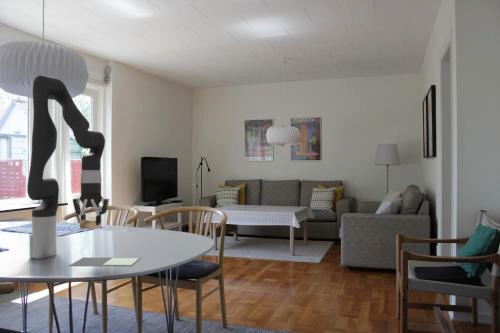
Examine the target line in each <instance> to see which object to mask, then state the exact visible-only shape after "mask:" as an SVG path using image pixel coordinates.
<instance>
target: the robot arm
mask: <svg viewBox="0 0 500 333" xmlns="http://www.w3.org/2000/svg"><path fill="white" fill-rule="evenodd" d="M49 100H54V101H56V102H57V103H58V104H59V105H60V106H61V107H62V109H61V110H62V111H61V112H62V118H63V120H64V122H65V123H66V125H67V126H68V127H69V129H70V130H71V131H72V135H73V136H74V139H75V142H76V143H77V145H78V146H79V147H80V148H83V149H86V150H87V149H89V152H88V154H85V155H83V156H82V158H81V174H80V197H78V198H72V203H73V207H74V211H75V214H77V215H79V217H80V221H81V220H84V219H87V215H86V214H87V210H88V209H89V208H93V210H94V212H95V214H96V216H95V218H96V225H100V223H101V224H102V215H105V214H107V212H108V211H107V210H108V206H109V202H110V199H109V198H103V196H102V181H103V180H102V172H101V170H102V169H101V168H102V167H101V166H102V165H101V164H102V163H101V162H102V161H101V159H102V156H103V153H104V150H105V146H106V139H105V136H104V134H103V133H102V132H100V131H96V130H89V128H90V122H89V121H88V120H87V118H86V117H85V115H84V114H83V113H82V112H81V111H80V109H79V108H78V106H77V105H76V104H75V102H74V99H73V97H72V96H71V94H70V92H69V90H68V88H67V86H66V85H65V83H64V82H63V80H62V79H60V78H57V77H54V76H48V75H43V74H39V75H37V76H36V77H35V78H34V80H33V83H32V103H33V117H32V118H33V122H32V132H31V133H32V135H31V136H32V137H31V155H30V156H31V157H30V167H29V173H28V178H27V186H26V188H27V190H26V191H27V196H28V198H29V199H30V200H32V201H42V202H41V203H40V205H38V206H36V207H35V208H33V209H32V211H31V234H30V235H29V258H30V259H35V260H42V259H49V258H51V257H54V256H57V253H58V252H57V251H58V250H57V246H58V245H57V212H58V209H59V196H60V195H59V194H60V186H59V183H58V180H57V179H56V178H54V177H44V171H45V167H46V165H47V163H48V162H49V160H50V159H51V157H52V155H53V154H54V152H55V151H56V149H57V143H58V137H57V136H58V131H57V128H56V125H55V123H54V120H53V118H52V116H51V114H50V112H49ZM80 203H81V204H82V205H81V206H80ZM100 203H102V207H101V205H100Z"/></svg>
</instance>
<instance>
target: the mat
mask: <svg viewBox="0 0 500 333" xmlns="http://www.w3.org/2000/svg"><path fill="white" fill-rule="evenodd" d="M141 259H142V257H90V256H89V257H82V258H80V259H78V260H76V261H74V262H73V263H71V264H69V265H68V267H122V268H123V267H124V268H125V267H131V268H132V267H133V266H134V265H135V264H136V263H138V262H139V261H140V260H141Z"/></svg>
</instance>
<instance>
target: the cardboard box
mask: <svg viewBox="0 0 500 333" xmlns="http://www.w3.org/2000/svg"><path fill="white" fill-rule="evenodd" d="M100 226H102V222H101V223H100V225H96V217H86V219H84V220H81V219H80V220H79V229H80V230H81V229H83V230H85V229H86V230H94V229H95V228H98V227H100Z"/></svg>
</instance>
